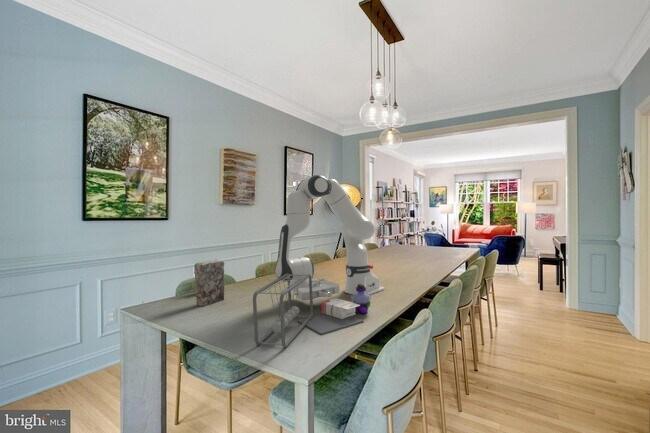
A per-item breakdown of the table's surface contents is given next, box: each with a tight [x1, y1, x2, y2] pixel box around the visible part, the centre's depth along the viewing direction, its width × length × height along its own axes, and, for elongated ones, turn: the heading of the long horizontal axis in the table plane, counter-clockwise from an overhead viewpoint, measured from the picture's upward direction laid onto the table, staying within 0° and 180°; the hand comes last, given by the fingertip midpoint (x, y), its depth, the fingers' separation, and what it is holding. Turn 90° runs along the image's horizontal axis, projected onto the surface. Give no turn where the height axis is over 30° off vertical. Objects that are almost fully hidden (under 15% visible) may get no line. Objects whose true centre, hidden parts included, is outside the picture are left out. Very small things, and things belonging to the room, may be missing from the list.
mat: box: [297, 313, 365, 336], centre depth 120 cm, size 20×16×1 cm
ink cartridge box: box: [320, 297, 360, 319], centre depth 126 cm, size 9×5×15 cm
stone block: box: [193, 259, 225, 307], centre depth 149 cm, size 13×7×20 cm, turn 153°
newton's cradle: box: [252, 273, 314, 348], centre depth 112 cm, size 30×10×18 cm, turn 165°
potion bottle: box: [350, 284, 372, 315], centre depth 131 cm, size 9×9×12 cm
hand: (328, 295), depth 131 cm, fingers closed
